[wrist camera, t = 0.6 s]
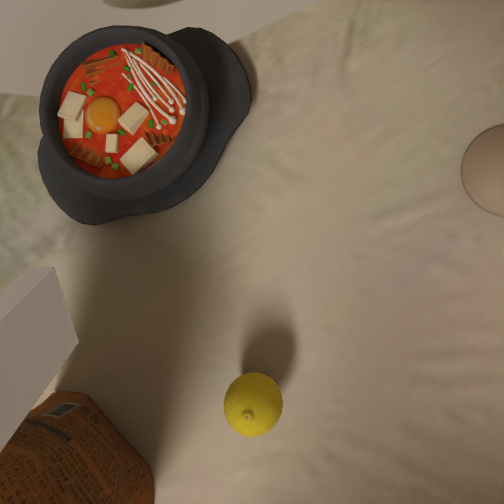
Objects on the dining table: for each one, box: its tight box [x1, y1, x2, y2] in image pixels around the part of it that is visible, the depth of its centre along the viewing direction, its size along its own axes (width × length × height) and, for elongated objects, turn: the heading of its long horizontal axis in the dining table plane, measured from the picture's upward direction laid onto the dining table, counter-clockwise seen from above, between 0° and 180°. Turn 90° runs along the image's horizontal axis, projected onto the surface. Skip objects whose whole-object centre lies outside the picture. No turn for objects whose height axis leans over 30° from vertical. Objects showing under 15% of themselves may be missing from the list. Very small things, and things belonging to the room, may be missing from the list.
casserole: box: [38, 26, 252, 226], centre depth 44 cm, size 25×19×8 cm
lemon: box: [224, 372, 283, 437], centre depth 41 cm, size 6×6×8 cm
